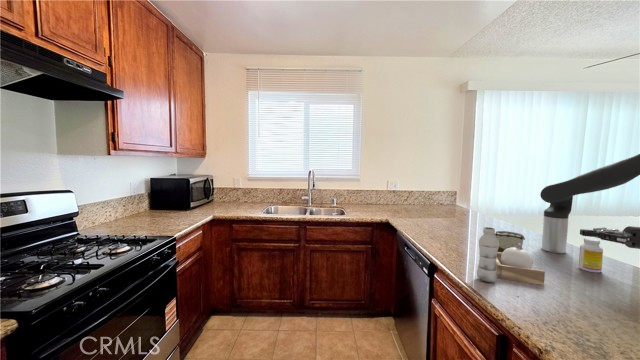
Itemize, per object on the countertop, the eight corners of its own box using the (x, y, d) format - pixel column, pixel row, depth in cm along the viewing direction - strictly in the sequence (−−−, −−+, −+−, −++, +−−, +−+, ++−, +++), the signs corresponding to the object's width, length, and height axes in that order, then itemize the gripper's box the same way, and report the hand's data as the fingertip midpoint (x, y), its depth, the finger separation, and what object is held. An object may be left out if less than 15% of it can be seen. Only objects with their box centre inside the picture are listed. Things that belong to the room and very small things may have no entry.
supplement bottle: (606, 273, 104) (608, 242, 104) (586, 272, 106) (589, 241, 105) (592, 267, 111) (594, 237, 110) (574, 266, 112) (576, 236, 111)
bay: (489, 262, 116) (489, 251, 116) (528, 267, 111) (529, 255, 110) (497, 277, 101) (498, 265, 100) (544, 285, 95) (544, 271, 94)
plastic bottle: (472, 277, 101) (474, 226, 100) (488, 276, 102) (491, 226, 100) (484, 284, 95) (486, 230, 93) (501, 284, 95) (504, 230, 94)
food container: (522, 253, 128) (523, 233, 127) (524, 256, 123) (525, 236, 122) (492, 248, 135) (493, 229, 134) (492, 252, 130) (493, 232, 129)
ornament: (532, 272, 106) (534, 243, 105) (531, 281, 98) (533, 250, 97) (501, 265, 112) (503, 238, 111) (498, 273, 105) (500, 244, 104)
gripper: (635, 223, 95) (573, 218, 102) (663, 233, 83) (591, 226, 90) (632, 243, 96) (571, 237, 103) (660, 255, 84) (589, 247, 91)
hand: (580, 232), depth 97 cm, fingers closed
